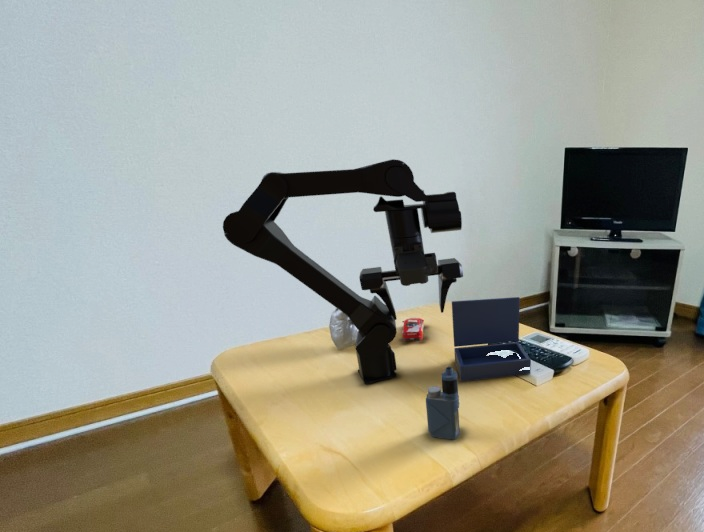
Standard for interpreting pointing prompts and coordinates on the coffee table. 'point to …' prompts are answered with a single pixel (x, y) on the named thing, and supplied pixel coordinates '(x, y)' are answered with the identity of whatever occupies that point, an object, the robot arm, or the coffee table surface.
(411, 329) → the race car
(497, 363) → the box
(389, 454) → the coffee table surface
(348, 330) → the heart
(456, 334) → the lid
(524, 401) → the coffee table surface
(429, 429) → the vaping device
